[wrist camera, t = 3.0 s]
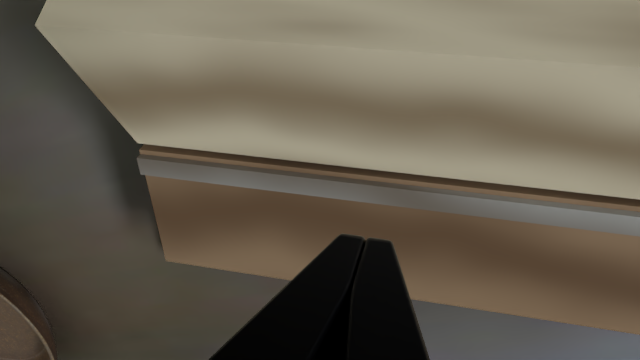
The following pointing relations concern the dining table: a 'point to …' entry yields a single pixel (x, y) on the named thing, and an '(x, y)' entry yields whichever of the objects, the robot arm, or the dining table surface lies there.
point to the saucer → (22, 324)
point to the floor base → (406, 232)
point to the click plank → (375, 83)
